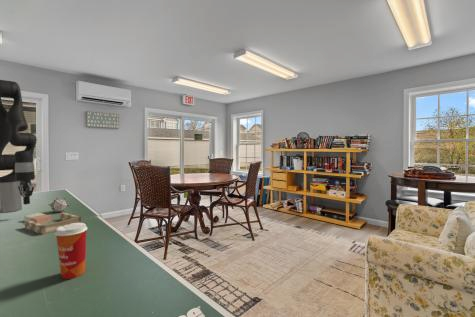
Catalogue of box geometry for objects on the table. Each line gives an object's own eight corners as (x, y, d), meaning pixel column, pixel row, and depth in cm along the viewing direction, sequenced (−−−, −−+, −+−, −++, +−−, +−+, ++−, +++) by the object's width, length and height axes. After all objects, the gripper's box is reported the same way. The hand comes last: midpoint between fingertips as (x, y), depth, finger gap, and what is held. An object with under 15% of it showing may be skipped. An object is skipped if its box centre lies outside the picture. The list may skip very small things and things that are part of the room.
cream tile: (24, 221, 118) (24, 215, 118) (38, 218, 124) (38, 212, 123) (30, 223, 115) (30, 217, 115) (44, 219, 121) (44, 214, 121)
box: (24, 228, 107) (24, 220, 107) (63, 219, 121) (62, 212, 121) (42, 234, 99) (42, 226, 99) (81, 224, 113) (81, 216, 112)
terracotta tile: (30, 223, 115) (30, 217, 115) (45, 220, 120) (44, 214, 120) (37, 225, 112) (36, 219, 112) (51, 221, 117) (51, 215, 117)
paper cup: (51, 277, 66) (48, 228, 66) (80, 264, 73) (78, 220, 72) (66, 284, 63) (63, 233, 62) (95, 270, 69) (93, 224, 69)
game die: (63, 217, 136) (75, 203, 138) (51, 216, 128) (64, 201, 130) (54, 209, 138) (65, 194, 140) (41, 207, 130) (53, 192, 132)
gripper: (10, 171, 122) (12, 204, 123) (20, 172, 115) (22, 206, 116) (28, 170, 128) (30, 201, 129) (39, 170, 122) (41, 203, 123)
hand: (26, 204), depth 123 cm, fingers closed
